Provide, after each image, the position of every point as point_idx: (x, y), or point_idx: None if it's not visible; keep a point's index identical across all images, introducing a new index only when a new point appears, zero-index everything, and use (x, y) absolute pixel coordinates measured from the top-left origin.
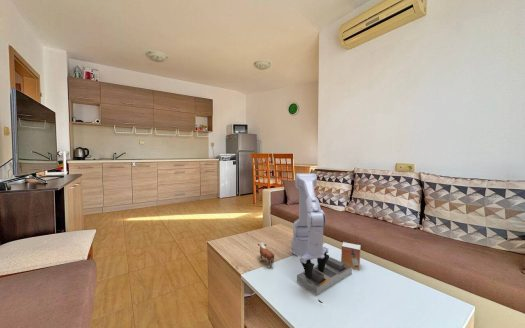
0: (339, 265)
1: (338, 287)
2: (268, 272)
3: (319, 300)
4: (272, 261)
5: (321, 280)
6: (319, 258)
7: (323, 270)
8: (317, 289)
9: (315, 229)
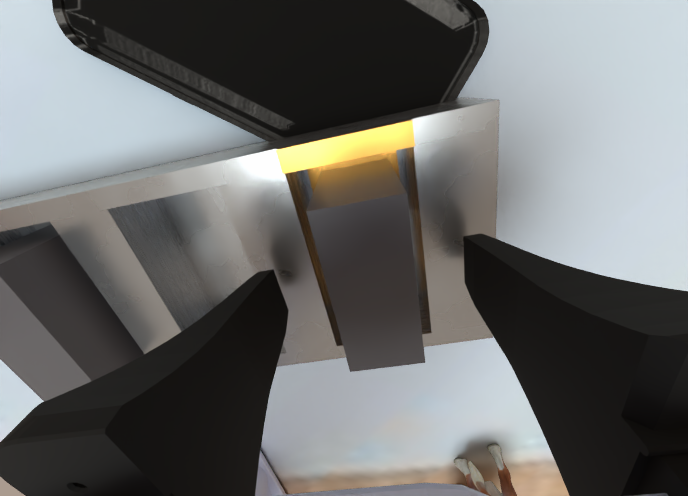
0: (1, 277)
1: (186, 126)
2: (524, 421)
3: (487, 33)
4: (484, 484)
5: (352, 185)
6: (237, 438)
7: (251, 279)
8: (474, 103)
9: None
